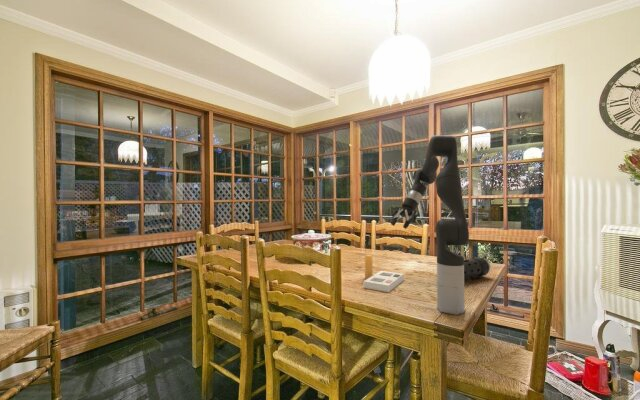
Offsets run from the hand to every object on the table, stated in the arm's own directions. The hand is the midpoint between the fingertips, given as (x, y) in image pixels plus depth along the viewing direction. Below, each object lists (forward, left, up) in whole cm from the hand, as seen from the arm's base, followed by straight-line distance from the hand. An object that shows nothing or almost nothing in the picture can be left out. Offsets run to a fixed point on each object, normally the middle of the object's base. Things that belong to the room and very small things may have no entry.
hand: (398, 226), depth 148 cm
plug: (-11, +12, -27) cm, 31 cm away
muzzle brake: (+12, -30, -27) cm, 42 cm away
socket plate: (-15, +2, -27) cm, 31 cm away
